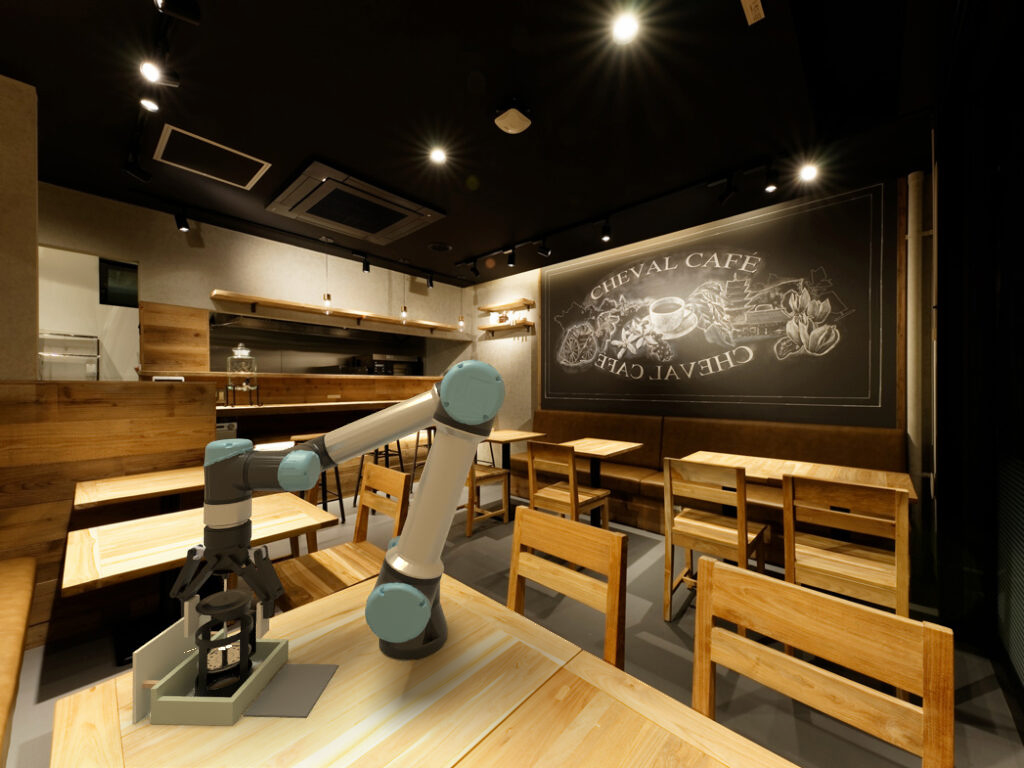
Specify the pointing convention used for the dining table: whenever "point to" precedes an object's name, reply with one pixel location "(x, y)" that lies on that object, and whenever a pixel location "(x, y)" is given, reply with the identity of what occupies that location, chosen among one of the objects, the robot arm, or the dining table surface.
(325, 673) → the plate
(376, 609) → the robot arm
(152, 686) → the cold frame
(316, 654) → the dining table surface
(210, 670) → the french press
